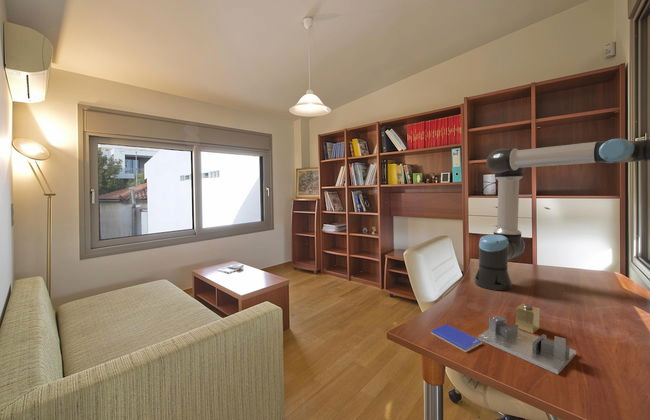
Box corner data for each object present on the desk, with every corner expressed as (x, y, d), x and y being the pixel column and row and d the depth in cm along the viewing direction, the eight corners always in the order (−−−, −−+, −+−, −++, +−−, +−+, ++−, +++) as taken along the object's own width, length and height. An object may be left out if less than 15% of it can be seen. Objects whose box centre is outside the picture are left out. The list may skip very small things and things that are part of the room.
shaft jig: (477, 339, 87) (477, 323, 86) (498, 325, 95) (499, 311, 94) (559, 375, 70) (560, 355, 69) (577, 355, 78) (577, 337, 77)
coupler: (515, 327, 93) (516, 305, 93) (521, 322, 96) (522, 301, 95) (532, 333, 89) (533, 310, 89) (539, 328, 92) (539, 306, 91)
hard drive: (482, 340, 84) (447, 323, 95) (465, 348, 80) (430, 330, 91) (482, 345, 84) (446, 328, 95) (465, 354, 80) (430, 334, 91)
